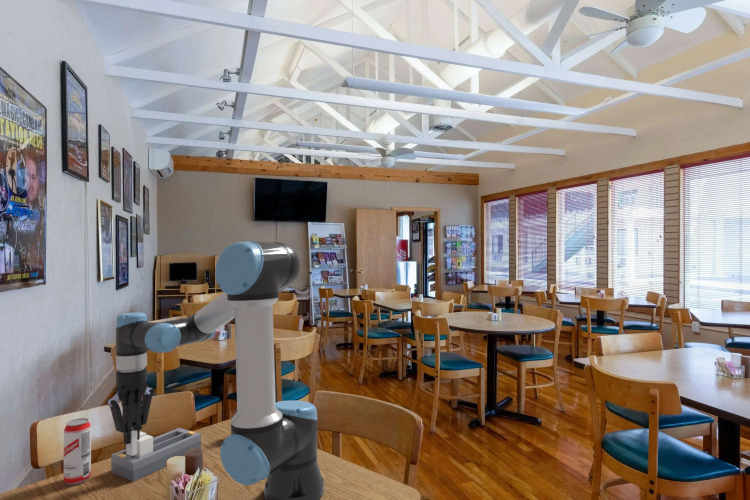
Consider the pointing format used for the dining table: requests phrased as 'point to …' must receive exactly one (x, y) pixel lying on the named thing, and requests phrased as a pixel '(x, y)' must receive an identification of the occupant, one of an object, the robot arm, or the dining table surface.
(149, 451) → the tab
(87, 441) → the beer can
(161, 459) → the switch bank
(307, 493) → the robot arm
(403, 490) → the dining table surface
